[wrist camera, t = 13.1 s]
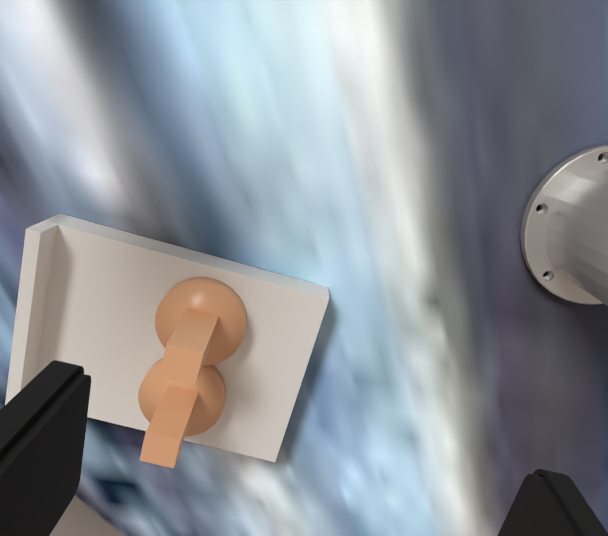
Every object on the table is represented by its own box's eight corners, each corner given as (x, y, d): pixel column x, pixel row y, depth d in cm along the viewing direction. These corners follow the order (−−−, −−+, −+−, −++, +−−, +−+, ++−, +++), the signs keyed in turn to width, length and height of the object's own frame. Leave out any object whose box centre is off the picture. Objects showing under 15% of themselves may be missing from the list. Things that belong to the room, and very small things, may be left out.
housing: (327, 287, 41) (334, 342, 31) (276, 443, 46) (269, 532, 36) (60, 213, 39) (-19, 248, 29) (36, 384, 44) (-39, 462, 34)
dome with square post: (238, 352, 42) (219, 421, 33) (220, 417, 45) (198, 499, 35) (160, 332, 42) (118, 397, 33) (145, 399, 44) (102, 478, 35)
